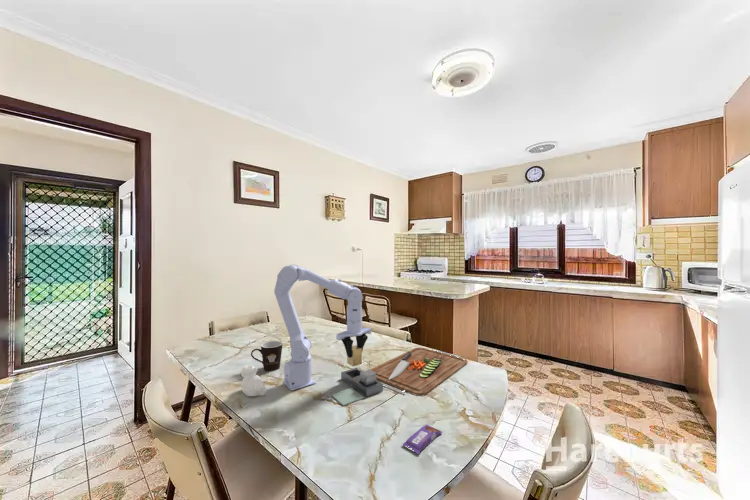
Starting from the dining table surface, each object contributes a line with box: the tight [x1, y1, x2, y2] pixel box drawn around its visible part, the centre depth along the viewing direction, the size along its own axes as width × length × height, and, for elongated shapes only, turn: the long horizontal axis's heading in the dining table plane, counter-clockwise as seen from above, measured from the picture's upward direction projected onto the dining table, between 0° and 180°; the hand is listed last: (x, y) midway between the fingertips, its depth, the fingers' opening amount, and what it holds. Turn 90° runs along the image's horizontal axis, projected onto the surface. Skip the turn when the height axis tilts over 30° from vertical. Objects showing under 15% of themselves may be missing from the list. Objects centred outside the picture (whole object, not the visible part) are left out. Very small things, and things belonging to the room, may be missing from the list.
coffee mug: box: [250, 340, 283, 372], centre depth 118 cm, size 12×9×10 cm
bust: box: [240, 364, 267, 398], centre depth 96 cm, size 12×8×11 cm
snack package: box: [402, 424, 443, 455], centre depth 73 cm, size 12×2×5 cm
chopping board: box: [370, 347, 468, 396], centre depth 118 cm, size 45×27×3 cm, turn 139°
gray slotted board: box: [340, 367, 384, 398], centre depth 103 cm, size 7×17×2 cm, turn 37°
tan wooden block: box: [346, 344, 363, 367], centre depth 107 cm, size 4×4×6 cm
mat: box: [330, 387, 365, 407], centre depth 94 cm, size 8×8×1 cm
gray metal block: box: [360, 368, 376, 387], centre depth 99 cm, size 4×4×6 cm
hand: (354, 355), depth 107 cm, fingers closed on tan wooden block, 4 cm apart
